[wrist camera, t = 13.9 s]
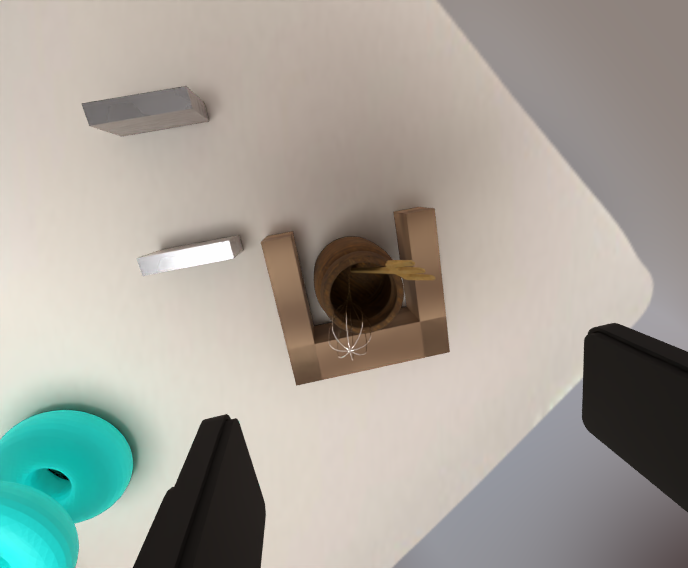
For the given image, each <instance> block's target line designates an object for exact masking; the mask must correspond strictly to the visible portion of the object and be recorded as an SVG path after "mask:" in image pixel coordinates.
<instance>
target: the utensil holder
mask: <svg viewBox="0 0 688 568" xmlns="http://www.w3.org/2000/svg"><path fill="white" fill-rule="evenodd" d="M414 265H415V262H414V261H412V260H392V258H391V257H390V256H389V255H388V254H387V253H386V252H385V251H384V250H383V249H382V248H380V247H379V246H377V245H376V244H374V243H373V242H371V241H369V240H367V239H364V238H361V237H354V236H350V237H343V238H340V239H337V240H335V241H333V242H331V243H330V244H329V245H327V246H326V247H325V248H324V249H323V251H322V252H321V253H320V255H319V256H318V259H317V261H316V264H315V268H314V287H315V292H316V296H317V299H318V302H319V304H320V305H321V307H322V309H323V310H324V311H325V312H326V314H327V315H328V317H329V318H330V319H331V320H332V323H331V325H332V331H333V322H334V323H335V324H336V325H337V326H338V327H340V330H341V329H343V330H345V331H347V338H348V332H351V333H356V334H359V337H360V334H365V337H366V334H367V333H370V339H371V333H372V332H375V331H378V330H380V329H382V328H384V327H385V326H387V325H388V324H389V323H390V322H391V321H392V320H393V319H394V318H395V317H396V316H397V314H398V312H399V311H400V308H401V306H402V302H403V297H404V288H403V283H402V280H401V277H402V278H403V279H405V280H435V279H436V277H435V276H433V275H427V274H415V273H425V269H423V268H420V267H405V266H414ZM330 328H331V326H330ZM333 334H334V331H333ZM339 334H340V331H339ZM334 336H335V334H334ZM359 337H358V339H359ZM329 338H330V329H329ZM335 338H336V339H337V337H336V336H335ZM358 339H357V341H358ZM370 339H369V341H370ZM337 340H338V342H339V343H340V341H339V335H338V339H337ZM357 341H356V343H357ZM369 341H368V342H369ZM338 342H337V349H334V348H333V347H332V346H331V345H330V341H329V345H330V346H331V347H332V348H333V349H334V350H337V354H338V351H341V350H338ZM368 342H367V338H366V344H365V345H366V352H367V344H368ZM356 343H355V344H356ZM340 344H341V343H340ZM348 344H349V338H348ZM355 344H354V346H355ZM341 345H342V344H341ZM365 345H364V346H365ZM342 346H343V347H345V346H344V345H342ZM352 346H353V334H352ZM354 346H353V347H354ZM364 346H362V347H364ZM353 347H352V348H353ZM362 347H360V348H362ZM345 348H346V347H345ZM352 348H351V350H350V345H349V349H347V348H346V349H347V350H348V351H349V352H350V355H351V352H352V351H354V350H358V349H360V348H358V349H354V350H352ZM342 352H347V351H342ZM349 352H348V353H349ZM366 352H365V353H364V354H366ZM348 353H347V354H348ZM352 353H353V359H354V354H357V353H354V352H352ZM347 354H346V355H347ZM364 354H357V355H364ZM346 355H345V356H346ZM345 356H343V357H345ZM338 357H339V355H338ZM343 357H339V358H343ZM351 359H352V355H351ZM353 359H352V360H353Z"/></svg>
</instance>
